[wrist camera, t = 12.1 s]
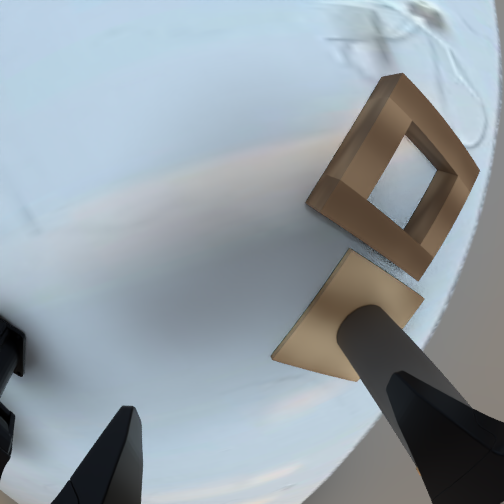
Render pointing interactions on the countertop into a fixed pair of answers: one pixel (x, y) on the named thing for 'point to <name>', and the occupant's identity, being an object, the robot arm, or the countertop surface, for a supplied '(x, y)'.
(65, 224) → the countertop surface
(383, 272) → the cork mat
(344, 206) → the wooden square frame
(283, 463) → the countertop surface
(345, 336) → the plug
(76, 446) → the countertop surface
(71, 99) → the countertop surface
